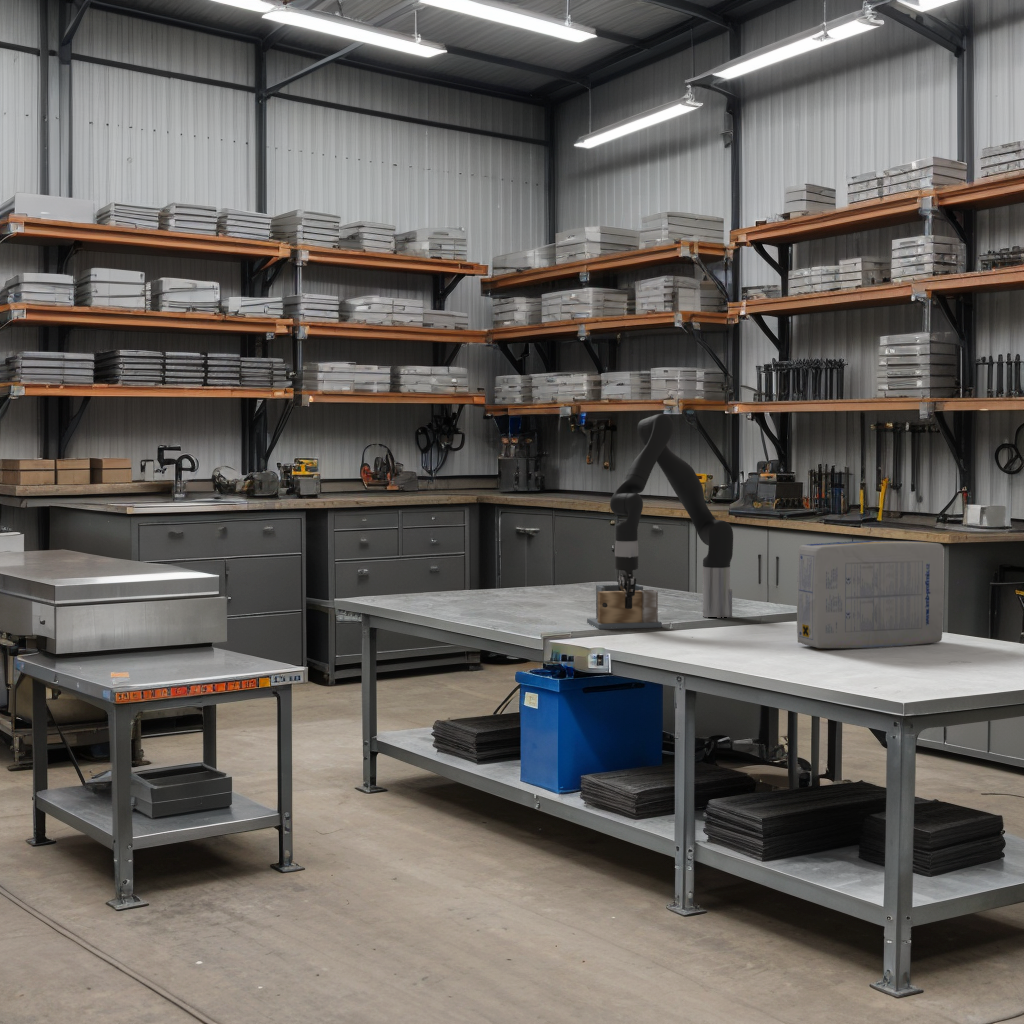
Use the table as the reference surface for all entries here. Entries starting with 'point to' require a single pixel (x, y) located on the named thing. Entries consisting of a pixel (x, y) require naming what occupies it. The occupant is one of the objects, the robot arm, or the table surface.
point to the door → (615, 611)
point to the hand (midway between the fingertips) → (626, 607)
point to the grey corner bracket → (618, 625)
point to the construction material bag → (870, 594)
